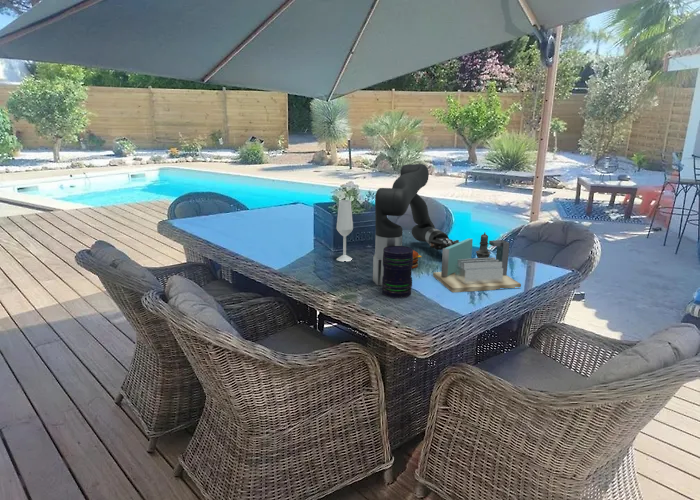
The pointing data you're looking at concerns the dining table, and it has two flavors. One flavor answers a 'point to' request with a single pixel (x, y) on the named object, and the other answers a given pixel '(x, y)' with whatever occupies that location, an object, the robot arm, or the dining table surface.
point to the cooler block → (484, 266)
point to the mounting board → (458, 286)
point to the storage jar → (397, 271)
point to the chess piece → (483, 247)
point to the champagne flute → (344, 225)
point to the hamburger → (415, 259)
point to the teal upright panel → (455, 256)
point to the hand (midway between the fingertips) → (453, 249)
